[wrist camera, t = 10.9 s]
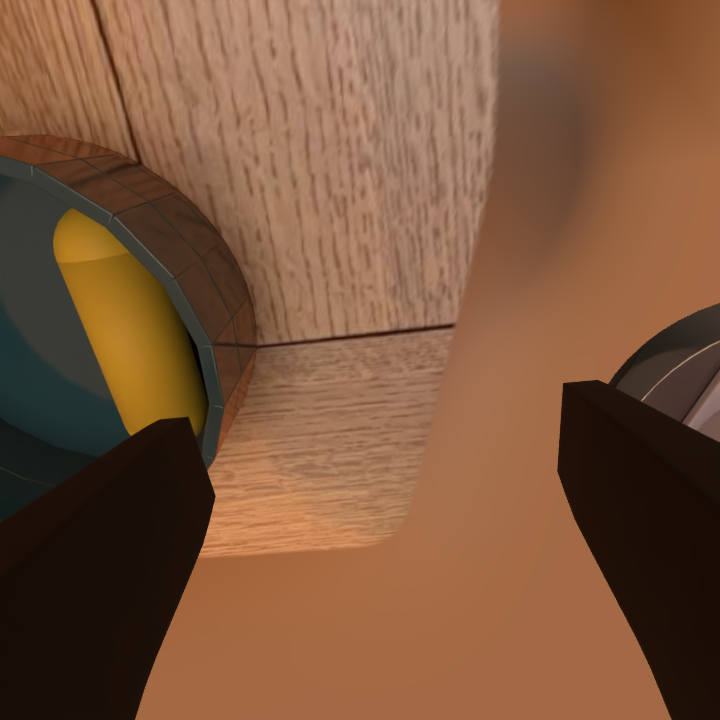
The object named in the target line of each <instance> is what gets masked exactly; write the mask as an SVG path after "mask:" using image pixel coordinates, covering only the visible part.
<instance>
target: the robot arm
mask: <svg viewBox="0 0 720 720" xmlns="http://www.w3.org/2000/svg"><path fill="white" fill-rule="evenodd" d="M557 471H558V474H559V477H560V480H561V483H562V486H563V489H564V492H565V494H566V497H567V500H568V503H569V505H570V508H571V511H572V513H573V516H574V519H575V521H576V523H577V525H578V527H579V529H580V531H581V533H582V535H583V536H584V538H585V540H586V542H587V544H588V546H589V548H590V550H591V552H592V554H593V556H594V558H595V560H596V562H597V564H598V565H599V567H600V569H601V571H602V573H603V575H604V577H605V579H606V581H607V583H608V585H609V587H610V588H611V590H612V592H613V594H614V596H615V598H616V600H617V602H618V604H619V606H620V608H621V610H622V611H623V613H624V615H625V617H626V619H627V621H628V623H629V625H630V627H631V629H632V631H633V632H634V634H635V636H636V638H637V641H638V643H639V645H640V646H641V649H642V651H643V653H644V655H645V657H646V659H647V661H648V664H649V666H650V668H651V670H652V673H653V675H654V678H655V680H656V683H657V685H658V687H659V690H660V692H661V695H662V697H663V700H664V702H665V705H666V707H667V709H668V712H669V714H670V716H671V719H672V720H720V370H719V371H718V373H717V374H716V376H715V377H714V378H713V380H712V381H711V383H710V384H709V385H708V387H707V388H706V390H705V391H704V393H703V394H702V395H701V397H700V398H699V400H698V401H697V402H696V404H695V405H694V407H693V408H692V410H691V411H690V412H689V414H688V415H687V417H686V418H685V419H684V421H683V422H682V423H681V422H679V421H677V420H675V419H673V418H672V417H670V416H668V415H666V414H664V413H662V412H660V411H658V410H656V409H655V408H653V407H651V406H649V405H647V404H645V403H643V402H641V401H639V400H638V399H636V398H634V397H632V396H630V395H628V394H626V393H624V392H622V391H620V390H618V389H616V388H614V387H612V386H610V385H608V384H606V383H604V382H601V381H599V380H592V381H581V382H569V383H563V394H562V409H561V424H560V439H559V454H558V469H557ZM215 497H216V496H215V493H214V490H213V487H212V484H211V481H210V478H209V475H208V472H207V469H206V466H205V463H204V460H203V457H202V454H201V451H200V449H199V446H198V443H197V440H196V437H195V434H194V431H193V428H192V425H191V422H190V419H189V417H179V418H168V419H159V420H157V421H155V422H153V423H152V424H150V425H148V426H146V427H145V428H143V429H141V430H140V431H138V432H137V433H135V434H133V435H132V436H130V437H129V438H127V439H126V440H124V441H123V442H121V443H120V444H118V445H117V446H115V447H114V448H112V449H111V450H109V451H108V452H106V453H105V454H103V455H102V456H100V457H99V458H98V459H96V460H95V461H93V462H92V463H90V464H89V465H87V466H86V467H84V468H83V469H81V470H80V471H78V472H77V473H75V474H74V475H72V476H71V477H69V478H68V479H67V480H65V481H64V482H62V483H61V484H59V485H57V486H56V487H54V488H53V489H51V490H50V491H48V492H47V493H45V494H43V495H42V496H40V497H39V498H37V499H36V500H34V501H32V502H31V503H29V504H28V505H26V506H25V507H23V508H21V509H20V510H18V511H17V512H15V513H14V514H12V515H10V516H9V517H7V518H6V519H4V520H3V521H1V522H0V720H135V718H136V715H137V711H138V708H139V705H140V701H141V699H142V695H143V692H144V689H145V686H146V683H147V680H148V677H149V675H150V672H151V670H152V667H153V664H154V661H155V659H156V656H157V654H158V651H159V649H160V647H161V645H162V642H163V640H164V637H165V635H166V633H167V630H168V628H169V625H170V623H171V621H172V618H173V616H174V613H175V611H176V609H177V606H178V604H179V602H180V599H181V597H182V594H183V592H184V589H185V587H186V585H187V582H188V580H189V578H190V575H191V573H192V570H193V568H194V565H195V563H196V560H197V558H198V556H199V553H200V550H201V548H202V545H203V543H204V539H205V536H206V532H207V528H208V525H209V521H210V517H211V513H212V509H213V505H214V501H215Z"/></svg>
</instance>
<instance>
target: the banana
mask: <svg viewBox="0 0 720 720" xmlns="http://www.w3.org/2000/svg"><path fill="white" fill-rule="evenodd" d="M53 248H54V254H55V257H56V261H57V263H58V266H59V268H60V271H61V273H62V275H63V278H64V280H65V283H66V285H67V288H68V290H69V292H70V295H71V297H72V300H73V302H74V305H75V307H76V309H77V312H78V314H79V317H80V319H81V322H82V324H83V326H84V329H85V331H86V334H87V336H88V339H89V341H90V343H91V346H92V348H93V351H94V353H95V356H96V358H97V360H98V363H99V365H100V368H101V370H102V373H103V375H104V377H105V380H106V382H107V385H108V387H109V390H110V392H111V394H112V397H113V399H114V402H115V404H116V407H117V409H118V411H119V414H120V416H121V419H122V421H123V424H124V426H125V428H126V430H127V431H128V433H129V434H130V435H131V436H132V435H133V434H135V433H137V432H138V431H140V430H141V429H143V428H145V427H146V426H148V425H150V424H152V423H153V422H155V421H157V420H159V419H168V418H179V417H189V419H190V422H191V425H192V428H193V431H194V434H195V437H197V436H198V435H199V434H200V433H201V431H202V429H203V428H204V426H205V424H206V421H207V416H208V410H209V403H208V398H207V394H206V391H205V388H204V385H203V382H202V378H201V375H200V372H199V369H198V366H197V362H196V359H195V356H194V353H193V349H192V346H191V343H190V340H189V337H188V333H187V330H186V327H185V324H184V322H183V321H182V319H181V317H180V315H179V313H178V312H177V310H176V308H175V306H174V305H173V303H172V301H171V299H170V298H169V296H168V294H167V292H166V290H165V289H164V287H163V285H162V284H161V283H160V282H159V281H158V280H157V279H156V278H155V277H154V276H153V275H152V274H151V273H150V272H149V271H148V270H147V269H146V268H145V267H144V266H143V265H142V264H141V263H140V262H139V261H138V260H137V259H136V258H135V257H134V256H133V255H132V254H131V253H130V252H129V251H128V250H127V249H126V248H125V247H124V246H123V245H122V244H121V243H120V242H119V241H118V240H117V239H116V238H115V237H114V236H113V235H112V234H111V233H110V232H109V231H108V230H107V228H105V227H104V226H102V225H100V224H99V223H97V222H95V221H94V220H92V219H90V218H89V217H87V216H85V215H84V214H82V213H81V212H79V211H77V210H76V209H74V208H71V209H70V210H68V211H67V212H66V213H65V214H64V215H63V216H62V218H61V219H60V220H59V222H58V224H57V227H56V229H55V232H54V238H53Z"/></svg>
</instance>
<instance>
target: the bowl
mask: <svg viewBox="0 0 720 720" xmlns="http://www.w3.org/2000/svg"><path fill="white" fill-rule="evenodd" d="M71 208H74V209H76V210H77V211H79V212H81V213H82V214H84V215H85V216H87V217H89V218H90V219H92V220H94V221H95V222H97V223H99V224H100V225H102V226H104V227H105V228H107V230H108V231H109V232H110V233H111V234H112V235H113V236H114V237H115V238H116V239H117V240H118V241H119V242H120V243H121V244H122V245H123V246H124V247H125V248H126V249H127V250H128V251H129V252H130V253H131V254H132V255H133V256H134V257H135V258H136V259H137V260H138V261H139V262H140V263H141V264H142V265H143V266H144V267H145V268H146V269H147V270H148V271H149V272H150V273H151V274H152V275H153V276H154V277H155V278H156V279H157V280H158V281H159V282H160V283H161V284H162V285H163V287H164V289H165V290H166V292H167V294H168V296H169V298H170V299H171V301H172V303H173V305H174V306H175V308H176V310H177V312H178V313H179V315H180V317H181V319H182V321H183V322H184V324H185V327H186V330H187V333H188V337H189V340H190V343H191V346H192V349H193V353H194V356H195V359H196V362H197V366H198V369H199V372H200V375H201V378H202V382H203V385H204V388H205V391H206V394H207V398H208V403H209V410H208V416H207V421H206V424H205V426H204V428H203V429H202V431H201V433H200V434H199V435H198V436H197V437H196V440H197V443H198V446H199V449H200V451H201V454H202V457H203V460H204V463H205V466H206V469H207V470H208V469H209V467H210V466H211V464H212V463H213V461H214V460H215V458H216V456H217V454H218V452H219V450H220V448H221V446H222V444H223V442H224V440H225V438H226V436H227V433H228V431H229V429H230V427H231V425H232V423H233V421H234V419H235V417H236V415H237V413H238V411H239V409H240V407H241V405H242V403H243V401H244V399H245V397H246V394H247V390H248V385H249V383H250V379H251V376H252V372H253V369H254V365H255V357H256V349H257V337H256V322H255V316H254V310H253V304H252V301H251V298H250V294H249V291H248V288H247V284H246V282H245V280H244V277H243V275H242V273H241V271H240V268H239V266H238V264H237V262H236V260H235V258H234V257H233V255H232V253H231V252H230V250H229V248H228V247H227V245H226V243H225V242H224V240H223V239H222V237H221V236H220V235H219V233H218V232H217V231H216V229H215V228H214V227H213V225H212V224H211V223H210V222H209V220H208V219H207V218H206V217H205V216H204V215H203V214H202V213H201V212H200V211H199V210H198V209H197V207H196V206H195V205H194V204H193V203H192V202H191V201H190V200H189V199H188V198H187V197H185V196H184V195H183V194H182V193H181V192H179V191H178V190H177V189H176V188H175V187H173V186H172V185H171V184H170V183H169V182H167V181H166V180H164V179H163V178H161V177H160V176H158V175H157V174H155V173H154V172H152V171H151V170H149V169H148V168H146V167H145V166H143V165H141V164H139V163H137V162H135V161H133V160H131V159H129V158H127V157H125V156H123V155H121V154H119V153H117V152H114V151H111V150H109V149H106V148H103V147H100V146H98V145H95V144H92V143H88V142H83V141H79V140H74V139H70V138H66V137H56V136H53V135H26V136H4V137H0V522H1V521H3V520H4V519H6V518H7V517H9V516H10V515H12V514H14V513H15V512H17V511H18V510H20V509H21V508H23V507H25V506H26V505H28V504H29V503H31V502H32V501H34V500H36V499H37V498H39V497H40V496H42V495H43V494H45V493H47V492H48V491H50V490H51V489H53V488H54V487H56V486H57V485H59V484H61V483H62V482H64V481H65V480H67V479H68V478H69V477H71V476H72V475H74V474H75V473H77V472H78V471H80V470H81V469H83V468H84V467H86V466H87V465H89V464H90V463H92V462H93V461H95V460H96V459H98V458H99V457H100V456H102V455H103V454H105V453H106V452H108V451H109V450H111V449H112V448H114V447H115V446H117V445H118V444H120V443H121V442H123V441H124V440H126V439H127V438H129V437H130V436H131V435H130V434H129V433H128V431H127V430H126V428H125V426H124V424H123V421H122V419H121V416H120V414H119V411H118V409H117V407H116V404H115V402H114V399H113V397H112V394H111V392H110V390H109V387H108V385H107V382H106V380H105V377H104V375H103V373H102V370H101V368H100V365H99V363H98V360H97V358H96V356H95V353H94V351H93V348H92V346H91V343H90V341H89V339H88V336H87V334H86V331H85V329H84V326H83V324H82V322H81V319H80V317H79V314H78V312H77V309H76V307H75V305H74V302H73V300H72V297H71V295H70V292H69V290H68V288H67V285H66V283H65V280H64V278H63V275H62V273H61V271H60V268H59V266H58V263H57V261H56V257H55V254H54V248H53V238H54V232H55V229H56V227H57V224H58V222H59V220H60V219H61V218H62V216H63V215H64V214H65V213H66V212H67V211H68V210H70V209H71Z"/></svg>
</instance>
